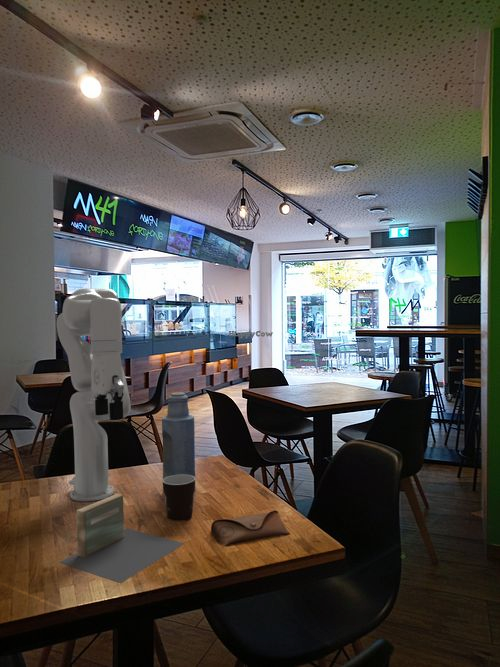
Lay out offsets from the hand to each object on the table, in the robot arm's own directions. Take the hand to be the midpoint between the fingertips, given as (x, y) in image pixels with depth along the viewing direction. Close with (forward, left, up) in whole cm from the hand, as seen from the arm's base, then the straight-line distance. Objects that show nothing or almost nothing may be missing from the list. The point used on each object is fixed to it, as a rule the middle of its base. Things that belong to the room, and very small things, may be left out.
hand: (109, 416), depth 125 cm
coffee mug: (+10, +15, -28) cm, 34 cm away
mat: (+13, -9, -28) cm, 32 cm away
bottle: (-2, +29, -28) cm, 41 cm away
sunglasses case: (+32, +14, -29) cm, 45 cm away
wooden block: (+6, -9, -28) cm, 30 cm away
